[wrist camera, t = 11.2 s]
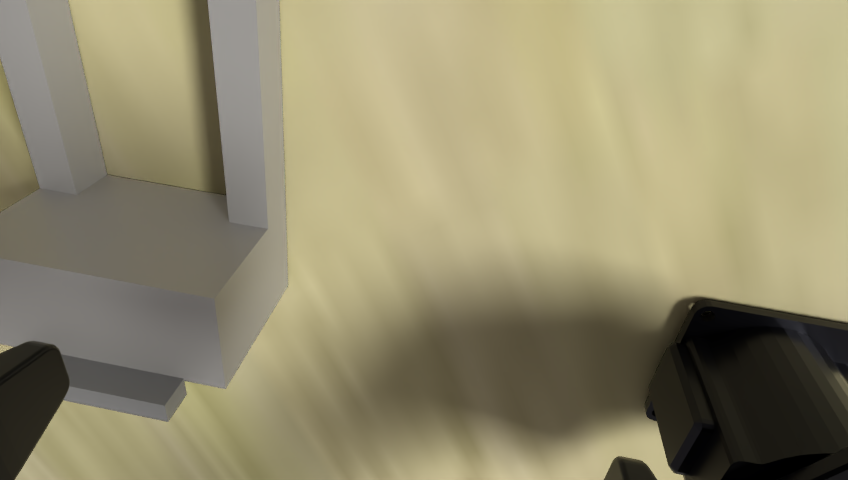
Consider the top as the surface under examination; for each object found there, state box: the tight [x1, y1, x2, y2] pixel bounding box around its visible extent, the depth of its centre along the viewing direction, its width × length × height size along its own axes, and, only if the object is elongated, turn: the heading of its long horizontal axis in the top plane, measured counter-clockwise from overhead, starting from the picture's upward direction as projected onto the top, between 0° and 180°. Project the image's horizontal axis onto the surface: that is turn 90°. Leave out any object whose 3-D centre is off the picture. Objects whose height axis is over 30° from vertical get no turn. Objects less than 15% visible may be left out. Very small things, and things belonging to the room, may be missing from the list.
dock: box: [0, 0, 288, 422], centre depth 17 cm, size 9×18×7 cm, turn 174°
